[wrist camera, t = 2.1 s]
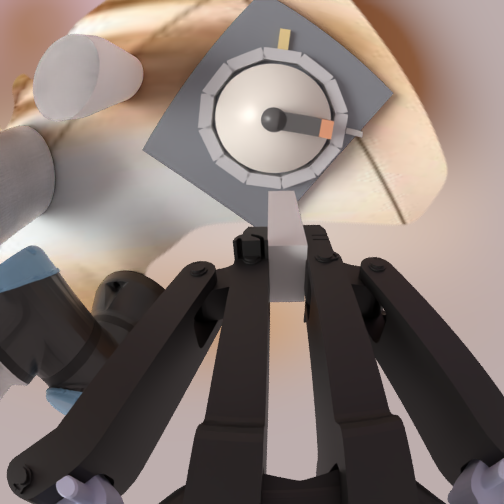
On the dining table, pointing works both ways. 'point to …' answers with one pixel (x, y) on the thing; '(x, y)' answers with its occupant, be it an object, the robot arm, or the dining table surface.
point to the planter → (23, 179)
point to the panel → (236, 61)
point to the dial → (273, 118)
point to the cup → (84, 77)
